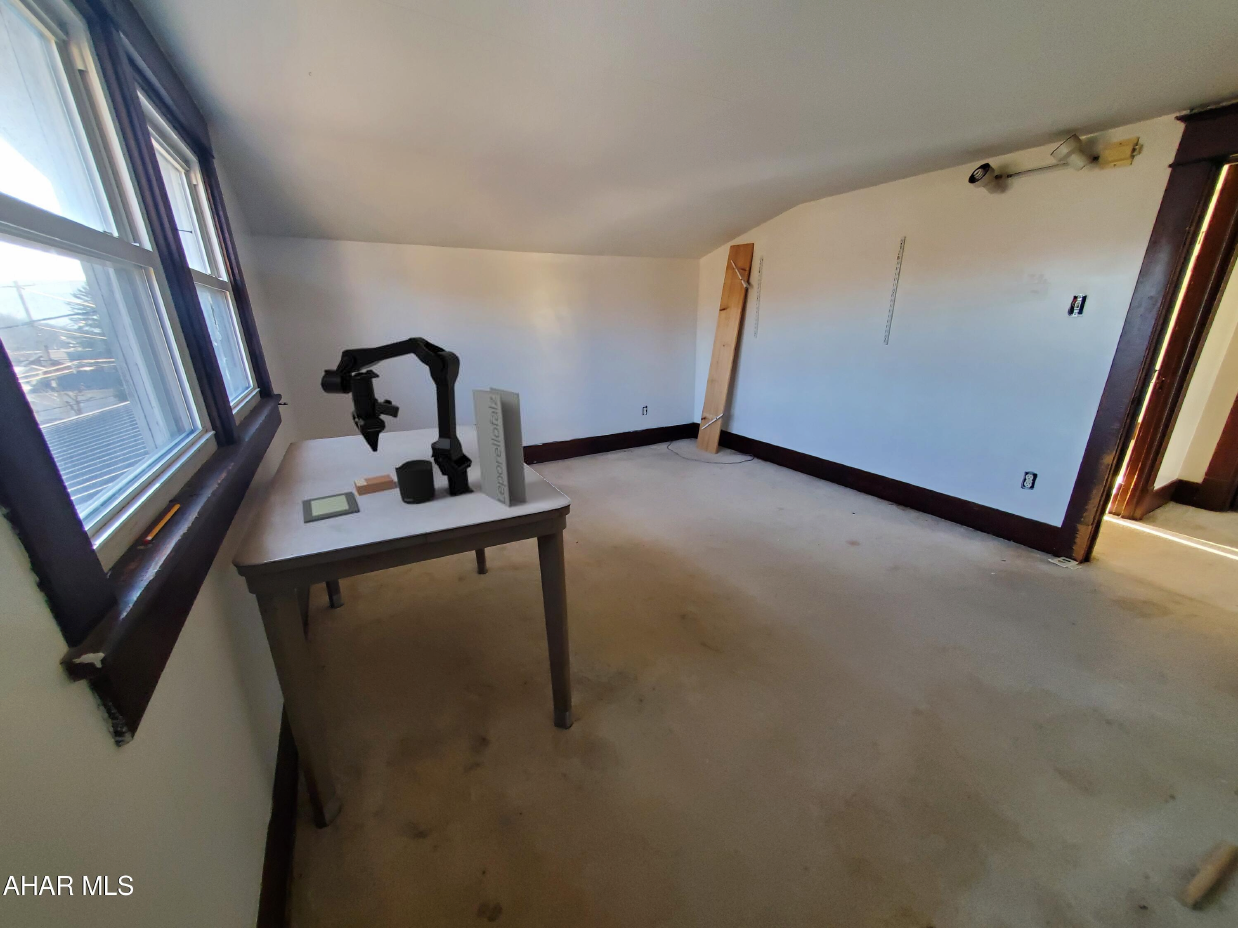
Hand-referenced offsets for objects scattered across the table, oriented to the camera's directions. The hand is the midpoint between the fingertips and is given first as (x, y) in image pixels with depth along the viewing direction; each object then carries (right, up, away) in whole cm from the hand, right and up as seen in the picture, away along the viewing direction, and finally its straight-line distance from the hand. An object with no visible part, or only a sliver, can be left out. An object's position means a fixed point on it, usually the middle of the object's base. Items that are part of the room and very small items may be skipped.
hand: (372, 448), depth 133 cm
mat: (-6, -16, -10) cm, 20 cm away
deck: (0, -13, +2) cm, 13 cm away
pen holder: (+15, -15, -5) cm, 22 cm away
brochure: (+39, -14, -4) cm, 42 cm away
